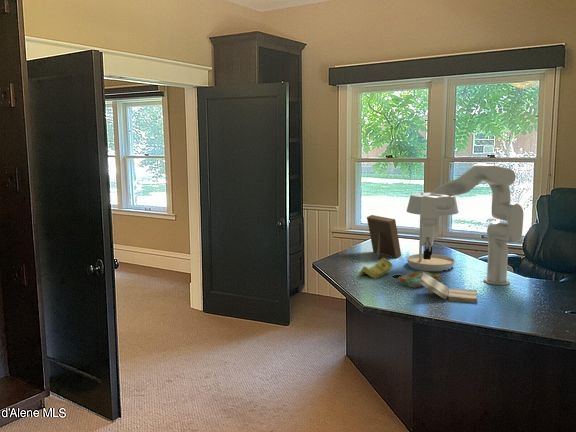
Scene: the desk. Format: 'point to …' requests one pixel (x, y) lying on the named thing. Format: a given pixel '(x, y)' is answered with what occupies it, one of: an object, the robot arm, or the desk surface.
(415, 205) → the lamp
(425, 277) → the birch plank
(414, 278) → the puzzle game
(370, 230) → the photo frame
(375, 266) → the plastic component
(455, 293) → the oak floorboard
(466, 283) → the desk surface
